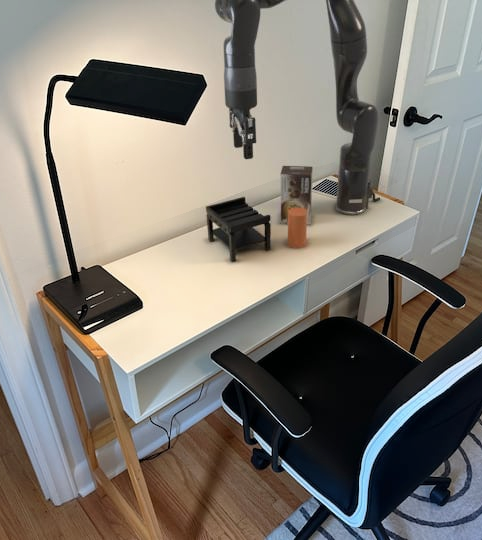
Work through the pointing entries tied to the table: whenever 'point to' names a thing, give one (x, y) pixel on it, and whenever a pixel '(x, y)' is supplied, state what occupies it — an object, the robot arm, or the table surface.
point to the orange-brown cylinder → (297, 227)
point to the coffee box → (296, 190)
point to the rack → (237, 225)
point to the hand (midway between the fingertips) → (243, 152)
